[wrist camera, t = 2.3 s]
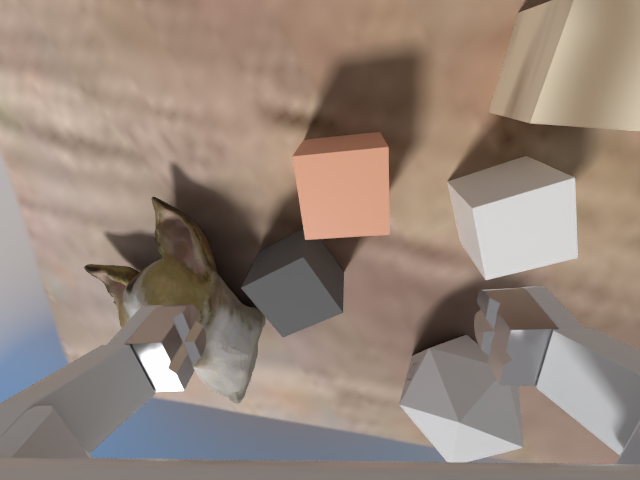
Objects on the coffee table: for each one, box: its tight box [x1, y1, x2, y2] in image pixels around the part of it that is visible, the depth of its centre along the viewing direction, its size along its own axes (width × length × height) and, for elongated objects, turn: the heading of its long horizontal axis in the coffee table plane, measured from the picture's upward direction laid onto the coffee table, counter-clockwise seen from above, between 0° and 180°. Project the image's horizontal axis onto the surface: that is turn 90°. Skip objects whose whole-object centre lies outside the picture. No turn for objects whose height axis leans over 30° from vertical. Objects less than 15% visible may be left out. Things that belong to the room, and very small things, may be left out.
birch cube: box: [489, 0, 640, 131], centre depth 16 cm, size 5×5×5 cm
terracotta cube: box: [292, 132, 390, 240], centre depth 19 cm, size 5×5×5 cm
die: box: [399, 335, 524, 462], centre depth 25 cm, size 8×9×10 cm
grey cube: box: [447, 156, 578, 280], centre depth 20 cm, size 5×5×5 cm
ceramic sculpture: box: [84, 197, 265, 404], centre depth 24 cm, size 11×9×15 cm
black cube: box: [241, 228, 344, 337], centre depth 23 cm, size 5×5×5 cm
